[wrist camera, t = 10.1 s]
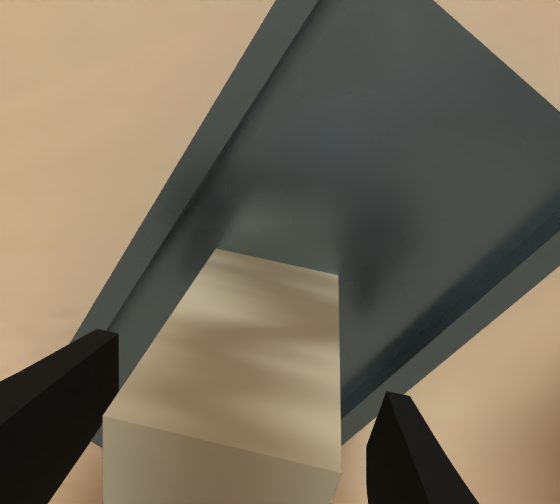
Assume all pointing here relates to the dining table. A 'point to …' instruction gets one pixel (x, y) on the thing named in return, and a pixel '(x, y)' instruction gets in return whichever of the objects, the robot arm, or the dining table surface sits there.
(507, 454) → the dining table surface
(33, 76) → the dining table surface
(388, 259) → the tray
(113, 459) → the peg
